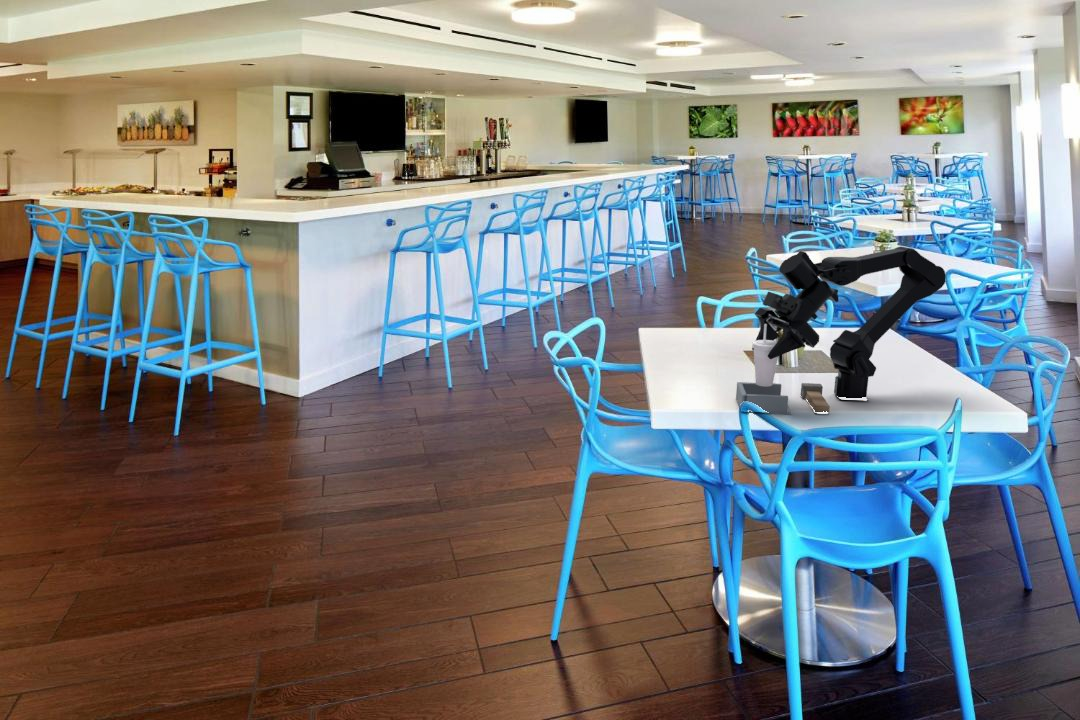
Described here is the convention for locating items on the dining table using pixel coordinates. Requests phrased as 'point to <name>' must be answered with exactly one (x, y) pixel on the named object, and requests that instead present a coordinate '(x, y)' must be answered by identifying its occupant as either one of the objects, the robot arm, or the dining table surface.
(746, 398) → the endcap cradle
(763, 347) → the smoothie
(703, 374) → the dining table surface
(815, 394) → the capped slat
